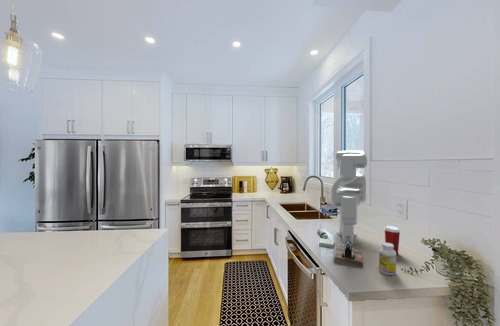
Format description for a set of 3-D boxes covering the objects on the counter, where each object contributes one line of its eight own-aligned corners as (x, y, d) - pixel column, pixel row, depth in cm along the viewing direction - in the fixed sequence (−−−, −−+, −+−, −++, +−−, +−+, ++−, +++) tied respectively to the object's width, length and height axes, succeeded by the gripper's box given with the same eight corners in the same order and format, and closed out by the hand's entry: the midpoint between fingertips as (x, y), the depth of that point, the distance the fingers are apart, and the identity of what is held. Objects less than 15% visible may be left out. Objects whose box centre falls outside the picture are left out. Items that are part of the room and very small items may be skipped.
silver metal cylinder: (343, 258, 116) (344, 248, 116) (353, 259, 114) (353, 250, 114) (343, 261, 112) (343, 251, 112) (353, 263, 110) (353, 253, 110)
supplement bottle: (375, 268, 105) (376, 241, 105) (389, 268, 105) (389, 241, 105) (385, 276, 98) (385, 247, 98) (399, 275, 99) (399, 246, 99)
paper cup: (397, 251, 125) (398, 226, 125) (402, 256, 118) (402, 230, 118) (382, 249, 128) (382, 225, 128) (385, 254, 121) (385, 229, 121)
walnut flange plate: (336, 250, 126) (336, 245, 126) (362, 254, 121) (362, 249, 121) (334, 262, 112) (334, 256, 112) (362, 267, 106) (362, 261, 106)
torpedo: (329, 240, 143) (329, 230, 143) (322, 240, 143) (322, 230, 143) (322, 231, 161) (322, 222, 161) (315, 231, 161) (315, 222, 161)
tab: (321, 241, 140) (321, 238, 140) (334, 243, 137) (334, 240, 137) (319, 245, 133) (319, 242, 133) (333, 248, 130) (333, 244, 130)
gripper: (341, 215, 122) (341, 246, 122) (339, 223, 107) (339, 258, 107) (356, 217, 119) (356, 248, 119) (356, 225, 103) (356, 261, 104)
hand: (348, 253), depth 113 cm, fingers open, 9 cm apart
